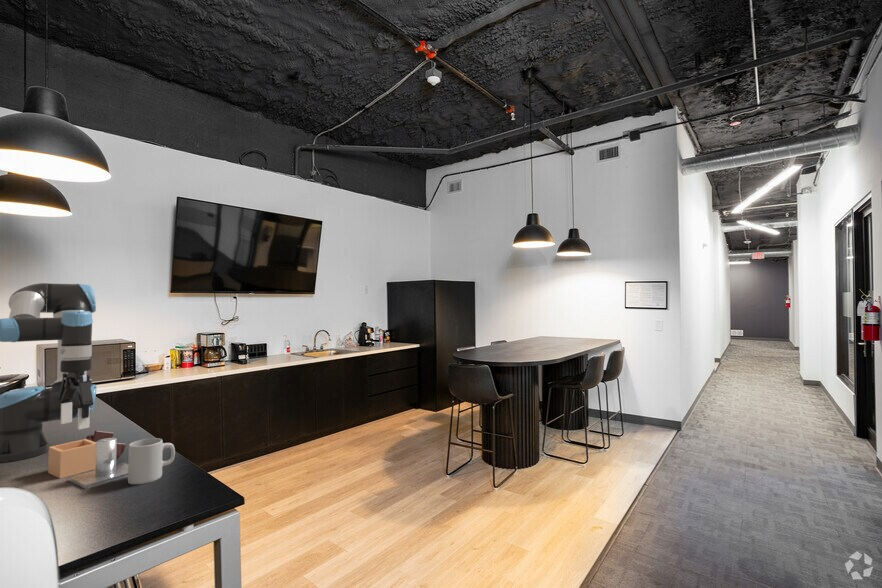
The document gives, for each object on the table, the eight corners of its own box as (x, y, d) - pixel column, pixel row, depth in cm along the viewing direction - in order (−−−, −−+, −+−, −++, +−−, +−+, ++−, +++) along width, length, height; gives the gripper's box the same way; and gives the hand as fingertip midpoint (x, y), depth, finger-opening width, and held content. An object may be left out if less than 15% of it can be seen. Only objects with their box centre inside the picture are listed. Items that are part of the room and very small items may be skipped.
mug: (131, 487, 121) (132, 448, 122) (124, 479, 127) (125, 442, 127) (178, 475, 130) (179, 439, 130) (170, 468, 136) (171, 433, 136)
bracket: (108, 458, 138) (115, 426, 142) (68, 465, 141) (76, 434, 146) (125, 459, 143) (132, 428, 147) (87, 466, 147) (94, 436, 151)
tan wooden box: (48, 472, 133) (48, 446, 133) (85, 463, 141) (85, 438, 141) (60, 478, 128) (60, 451, 128) (97, 468, 136) (98, 443, 136)
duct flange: (68, 480, 126) (69, 443, 127) (123, 465, 138) (123, 431, 139) (85, 489, 120) (86, 450, 121) (140, 472, 132) (141, 437, 133)
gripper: (46, 358, 139) (44, 423, 138) (77, 362, 126) (75, 433, 125) (75, 356, 145) (73, 418, 144) (107, 359, 132) (106, 427, 132)
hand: (74, 425), depth 135 cm, fingers open, 13 cm apart
